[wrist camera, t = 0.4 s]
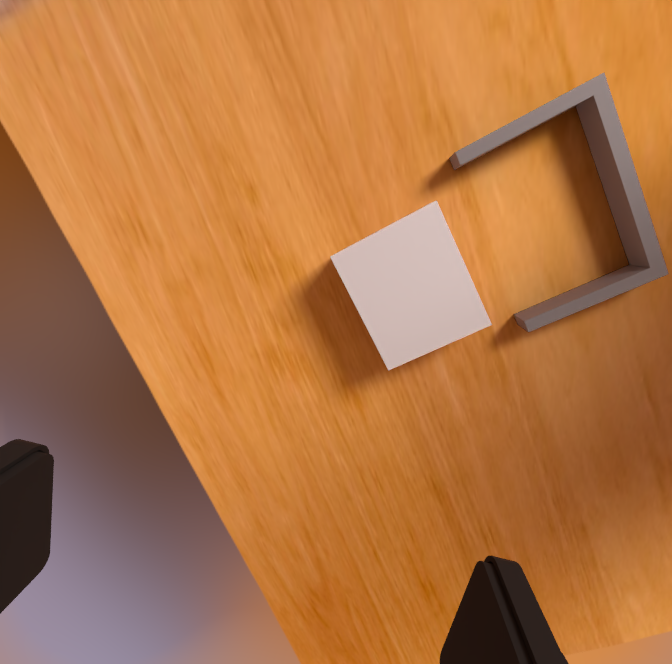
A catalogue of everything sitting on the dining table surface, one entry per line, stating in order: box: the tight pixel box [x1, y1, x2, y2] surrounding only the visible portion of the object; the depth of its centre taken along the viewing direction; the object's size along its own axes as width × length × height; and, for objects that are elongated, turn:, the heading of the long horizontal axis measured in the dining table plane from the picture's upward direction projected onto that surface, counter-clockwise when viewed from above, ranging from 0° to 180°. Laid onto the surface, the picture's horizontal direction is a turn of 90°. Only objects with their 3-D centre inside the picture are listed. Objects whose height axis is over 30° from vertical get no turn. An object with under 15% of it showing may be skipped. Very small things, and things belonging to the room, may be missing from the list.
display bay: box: [449, 73, 668, 332], centre depth 30 cm, size 10×15×2 cm
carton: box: [330, 200, 492, 371], centre depth 31 cm, size 8×10×5 cm
